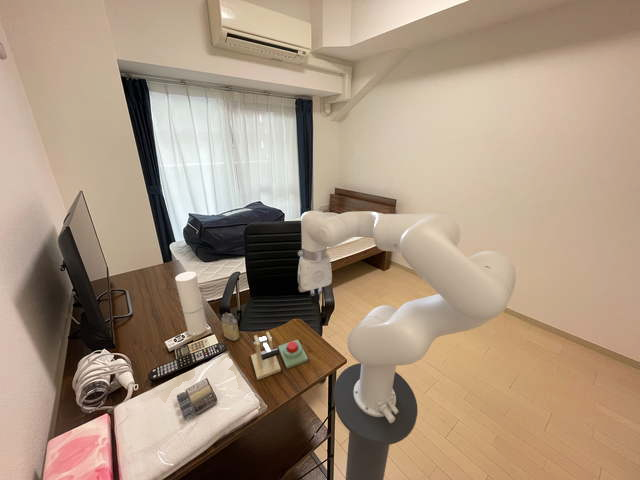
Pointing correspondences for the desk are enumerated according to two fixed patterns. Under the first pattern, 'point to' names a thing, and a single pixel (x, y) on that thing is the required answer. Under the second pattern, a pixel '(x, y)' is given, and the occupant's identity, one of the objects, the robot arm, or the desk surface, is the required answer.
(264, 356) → the lever
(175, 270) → the desk surface
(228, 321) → the yellow grey jar
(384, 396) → the robot arm
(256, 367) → the cream lever stand
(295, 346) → the button
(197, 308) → the cylindrical container
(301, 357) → the control box
